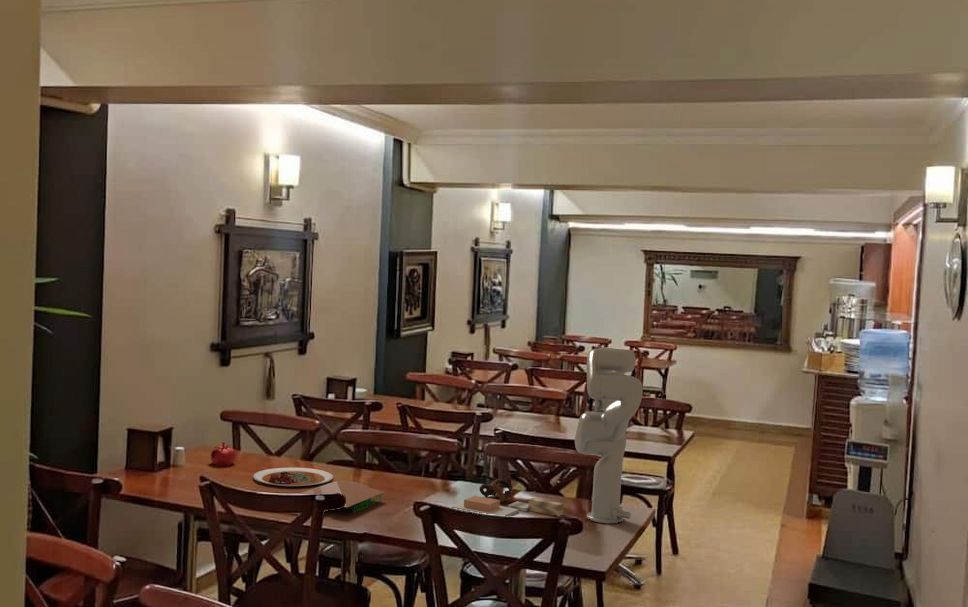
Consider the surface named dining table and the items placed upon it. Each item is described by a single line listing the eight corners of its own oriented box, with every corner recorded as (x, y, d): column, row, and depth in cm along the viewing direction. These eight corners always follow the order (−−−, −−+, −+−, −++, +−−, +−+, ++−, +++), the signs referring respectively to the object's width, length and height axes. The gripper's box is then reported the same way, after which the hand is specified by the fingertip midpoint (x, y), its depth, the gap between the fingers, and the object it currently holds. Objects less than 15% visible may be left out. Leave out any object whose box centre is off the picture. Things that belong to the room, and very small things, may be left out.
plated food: (341, 475, 366) (341, 467, 366) (320, 492, 336) (321, 483, 336) (268, 469, 368) (268, 461, 368) (241, 486, 339) (241, 477, 339)
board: (518, 512, 321) (518, 509, 321) (502, 519, 310) (502, 516, 310) (468, 502, 330) (468, 499, 330) (451, 509, 320) (451, 506, 319)
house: (388, 499, 330) (389, 477, 330) (339, 520, 300) (340, 495, 300) (333, 490, 339) (334, 468, 339) (280, 509, 309) (281, 485, 308)
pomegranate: (237, 462, 376) (239, 440, 375) (232, 467, 366) (233, 444, 365) (213, 461, 375) (214, 439, 375) (207, 466, 365) (208, 443, 365)
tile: (500, 500, 322) (474, 495, 327) (489, 504, 315) (464, 499, 319) (499, 507, 322) (474, 502, 327) (489, 511, 315) (463, 507, 320)
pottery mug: (501, 495, 344) (510, 479, 340) (507, 512, 336) (517, 495, 333) (472, 490, 339) (481, 473, 336) (479, 507, 331) (488, 490, 328)
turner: (564, 513, 323) (565, 502, 322) (556, 517, 316) (557, 506, 316) (516, 504, 332) (517, 493, 332) (507, 508, 326) (508, 497, 325)
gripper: (607, 384, 329) (604, 431, 330) (623, 380, 344) (620, 425, 345) (587, 382, 333) (584, 429, 333) (604, 378, 348) (601, 423, 348)
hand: (602, 427), depth 339 cm, fingers open, 9 cm apart
